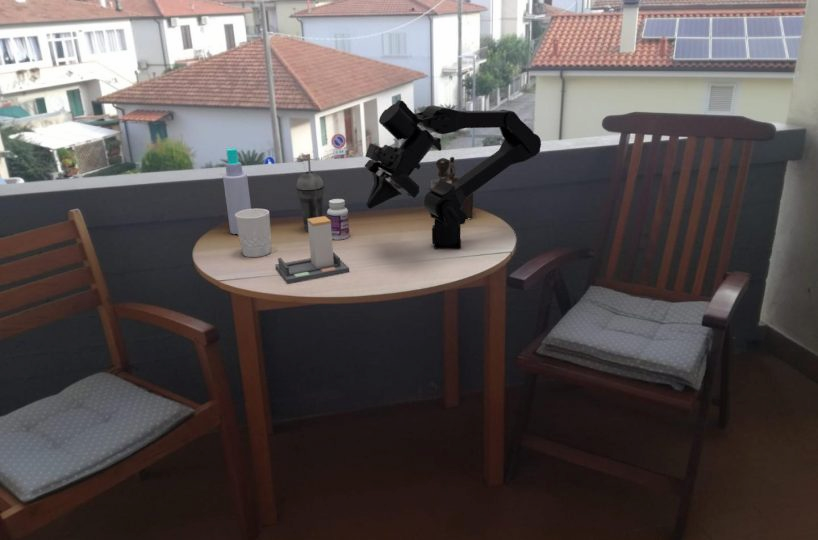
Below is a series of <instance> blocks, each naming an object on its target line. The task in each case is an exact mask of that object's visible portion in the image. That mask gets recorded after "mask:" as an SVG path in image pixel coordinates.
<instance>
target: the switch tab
mask: <svg viewBox="0 0 818 540" xmlns="http://www.w3.org/2000/svg"><path fill="white" fill-rule="evenodd" d="M307 221H308V230H309V232H308V241H309V252H310V253H309V254H310V258H311V262H312V263H313V264H314V266H315V267H316V268H318V267H324V266H329V265H334V259H333V252H334V247H333V239H332V232H331V220H329V219H328V218H327V217H326V215H324V216H322V217H316V218H309V219H307Z"/></svg>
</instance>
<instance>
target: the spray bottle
mask: <svg viewBox="0 0 818 540" xmlns="http://www.w3.org/2000/svg"><path fill="white" fill-rule="evenodd" d="M226 156H227V163H225V170H226V171H225V172H226V173H225V174H224V175H222V179H223V181H222V182H223V187H224V188H223V189H224V194H225V203H226V208H227V217H228V223H229V224H228V225H229V232H230V233H231V234H232V235H235V234H237V235H236V236H239V234H238V228H237V223H236V217H235V214H236V213H237V212H239V211H242V210H247V209H252V205H251V198H250V189H249V182H248V181H249V179H248V174H247V173H246V172H244V171H243V165H242V162H240V161H239V157H238V156H239V155H238V149H237V148H228V149H226Z"/></svg>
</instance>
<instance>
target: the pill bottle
mask: <svg viewBox="0 0 818 540" xmlns="http://www.w3.org/2000/svg"><path fill="white" fill-rule="evenodd" d="M328 206H329V208H328V209H327V211H326V216H327V218H328V219H329V220H331V232H332V240H335V241H340V240H341V241H343V240H345V239H348V238H349V237H350V224H349V223H350V221H349V210H348V208H347V207H345V206H346V201H345V199H343V198H333V199H330V200H328Z"/></svg>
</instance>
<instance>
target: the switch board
mask: <svg viewBox="0 0 818 540" xmlns="http://www.w3.org/2000/svg"><path fill="white" fill-rule="evenodd" d="M333 259H334V265H329V266H324V267H318V268H316V267H315V266H314V264H313V263H312V262H311V257H309V258H305V259H300V260H295V261H287V262H285V261H284V260H283V259H282V257H278V258H277V261H278V263H277V264H274V265H275V269H276V271H277V272H278V273H279V275H280V276H281V277H282V278H283V281H285V283H286V284H287V285H289V284H293V283H294V284H295V283H299V282H303V281H309V280H315V279H320V278H325V277H329V276H336V275H340V274H341V275H342V274H345V273H350V267H349V266H348V265H347V264H346V263H344V262H343V261H342V260H341V257H340V256H339V255H337V254H336V253H335V252H334V251H333Z"/></svg>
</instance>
